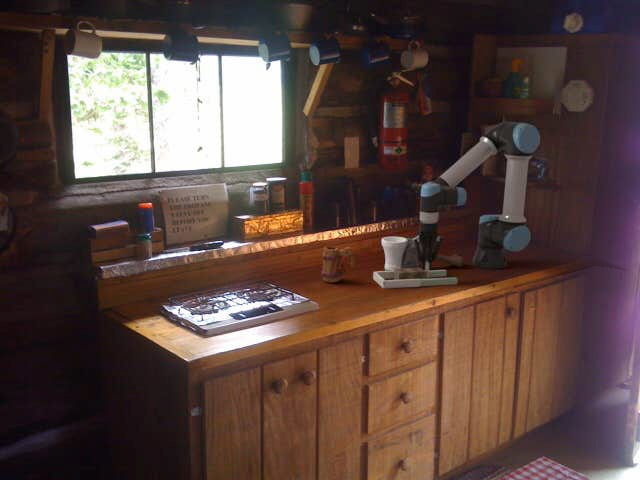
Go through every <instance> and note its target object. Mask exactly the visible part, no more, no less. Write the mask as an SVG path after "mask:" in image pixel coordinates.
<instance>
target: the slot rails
mask: <svg viewBox="0 0 640 480" xmlns="http://www.w3.org/2000/svg"><path fill="white" fill-rule="evenodd" d="M447 285H451V286H452V285H458V277H457V276H455V277H447V270H446V269H436V270H435V269H433V270H431V269H430V270H429V277H428V278H427V279H420V287H426V286H427V287H428V286H429V287H431V286H433V287H434V286H447Z"/></svg>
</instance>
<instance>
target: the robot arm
mask: <svg viewBox="0 0 640 480" xmlns="http://www.w3.org/2000/svg"><path fill="white" fill-rule="evenodd" d="M540 143H541V136H540V133H539V130H538V129H537V127H536V126H534V125H532V124H529V123H526V122H517V121H516V122H515V121H510V120H507V121H503V122H500V123H498V124H496V125H494V127H492V128H491V129H488V131H487V132H485V133H484V134H483V135H481V137H480V138H479V142H478V143H477V144H475V145H474V146H473V147H471V149H469V151H468V152H466V153H465V154H464V155H463V156H462V157H460V158H459V159H458V160H457V161H456V162H455V163H454V164H453V165H451V166H450V167H449V168H448V169H447V170H446V171H444V172H443V174H441V175H440V176H439V177H437V178H436V180H434V181H428V182H425V183H423V184H422V185H421V190H420V207H419V209H420V211H419V222H418V223H419V225H418V233H417V236H415V237H412V238H411V239H412V240H413V242H414V244H415V249H416V255H417V259H418V260H419V262H421V265H420V266H421V267H420V268H421V269H422V270H426V271H427V279H429V278H430V277H429V270H431V269H432V263H433V262H434V261H437V260H436V258H437V255H439V251H440V247H441V244H442V243H443V241H444V238H443V237H441V236H439V233H438V231H439V223H438V221H439V215H440V214H439V213H440V208H442V207H458V206H464V205H465V203H466V202H467V191H466V189H465V188H463V187H458V186H457V185H459V183H461V182H462V181H463V180H464V179H466V177H468V176H469V175H470V174H471V173H472V172H473V171H475V170H476V169H477V168H478V167H479V166H480V165H481V164H482V163H484V162H485V161H486V160H487V159H488V158H489V157H490V156H492V155H496V154H498V152H500V151H502V150H504V151H503V155H504V156H505V158H506V159H507V160H506V171H505V172H506V174H505V184H504V195H503V206H502V214H484V215H481V216H480V217H479V222H478V237H477V238H478V239H477V249H476V250H475V253H474V255H473V258H472V265H473V266H475V267H478V268H481V269H488V270H499V269H501V270H502V269H505V268H507V265H508V260H507V257H506V252H505V250H506V251H511V252H513V253H514V252H515V253H516V252H521V251H522V250H524V249H525V248H526V247H527V246H528V245H529V243H530V241H531V231H530V229H529V228H528V227H527V219H526V218H525V215H524V211H525V204H526V203H525V202H526V201H525V200H526V191H527V190H526V189H527V180H528V170H529V169H528V168H529V161H530V159H531V158H533V156H534V152H535V151H537V148H538V147H539V146H540ZM420 242H421V244H420ZM434 242H435V244H434ZM419 244H420V245H421V246H422V255H421V251H420V245H419ZM426 254H427V260H426Z"/></svg>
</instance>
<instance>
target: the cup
mask: <svg viewBox="0 0 640 480" xmlns="http://www.w3.org/2000/svg"><path fill="white" fill-rule="evenodd" d="M405 240H406V241H405ZM407 242H408V241H407V238H405V237H403V236H402V237H401V236H385V237H382V238H381V246H382V247H383V250H384V251H383V252H384V258H385V259H384V260H385V264H384V271H394V269H402V266H401V265H402V258H403V254H404V251H405V248H406V246H407Z"/></svg>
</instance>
